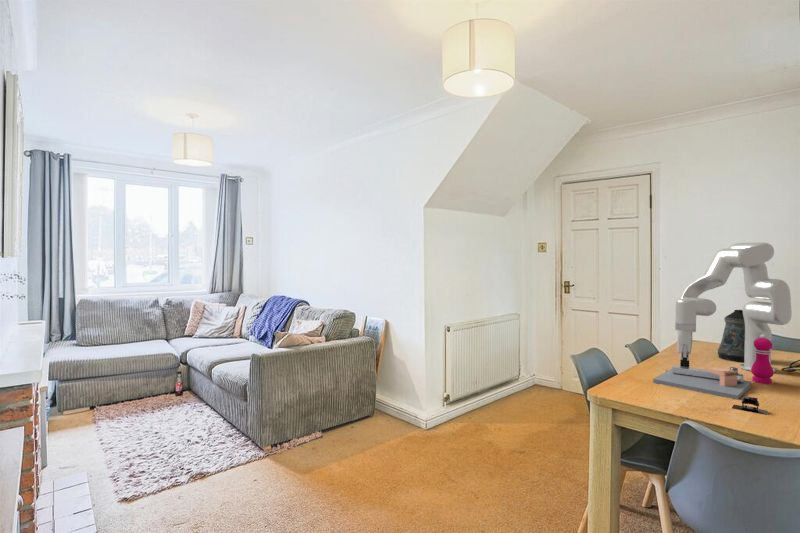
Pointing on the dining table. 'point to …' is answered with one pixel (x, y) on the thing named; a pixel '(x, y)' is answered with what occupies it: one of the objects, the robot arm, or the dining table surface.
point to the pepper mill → (762, 361)
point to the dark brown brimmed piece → (750, 409)
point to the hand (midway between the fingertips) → (684, 369)
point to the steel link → (702, 372)
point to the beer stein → (733, 338)
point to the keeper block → (725, 376)
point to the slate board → (703, 384)
